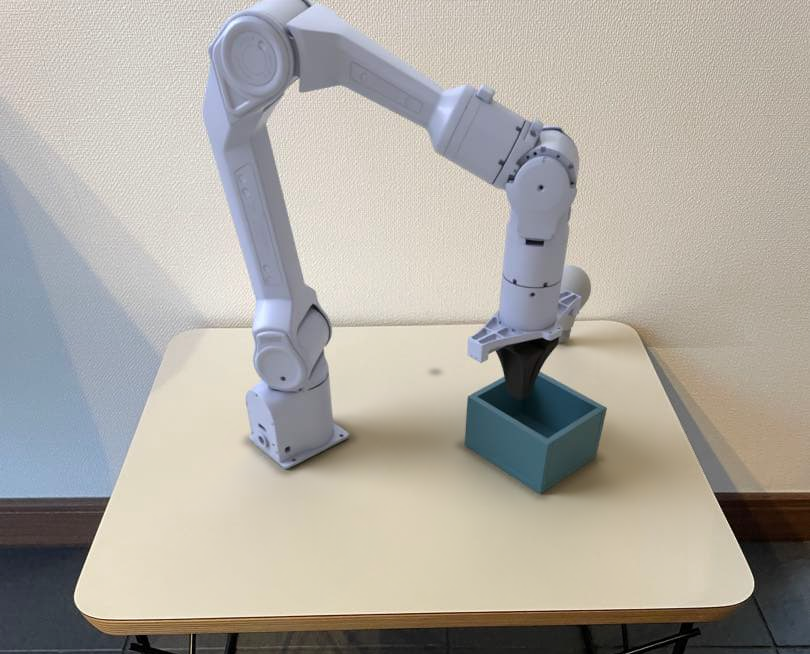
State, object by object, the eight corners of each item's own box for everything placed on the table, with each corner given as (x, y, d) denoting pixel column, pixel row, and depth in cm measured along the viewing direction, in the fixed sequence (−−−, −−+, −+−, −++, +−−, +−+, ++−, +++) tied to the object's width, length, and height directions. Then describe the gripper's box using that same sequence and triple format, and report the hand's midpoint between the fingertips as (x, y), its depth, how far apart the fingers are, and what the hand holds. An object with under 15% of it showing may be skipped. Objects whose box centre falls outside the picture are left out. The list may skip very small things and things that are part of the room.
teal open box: (548, 444, 80) (607, 407, 85) (467, 396, 87) (526, 364, 91) (539, 494, 85) (596, 456, 90) (464, 445, 92) (520, 412, 96)
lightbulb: (531, 346, 107) (541, 272, 100) (546, 327, 111) (557, 253, 103) (572, 357, 105) (586, 282, 98) (586, 337, 109) (600, 263, 101)
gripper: (510, 315, 67) (497, 438, 77) (613, 265, 74) (590, 384, 84) (454, 286, 71) (449, 407, 81) (558, 242, 78) (541, 358, 87)
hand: (517, 394), depth 82 cm, fingers closed
